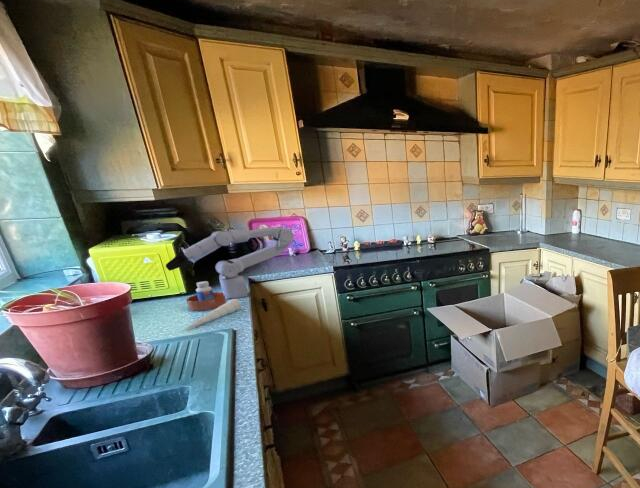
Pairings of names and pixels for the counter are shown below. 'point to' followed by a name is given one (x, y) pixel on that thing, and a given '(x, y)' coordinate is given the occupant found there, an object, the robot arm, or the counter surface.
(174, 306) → the counter surface
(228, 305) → the unicorn horn
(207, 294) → the pill bottle
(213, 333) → the counter surface
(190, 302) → the bowl
